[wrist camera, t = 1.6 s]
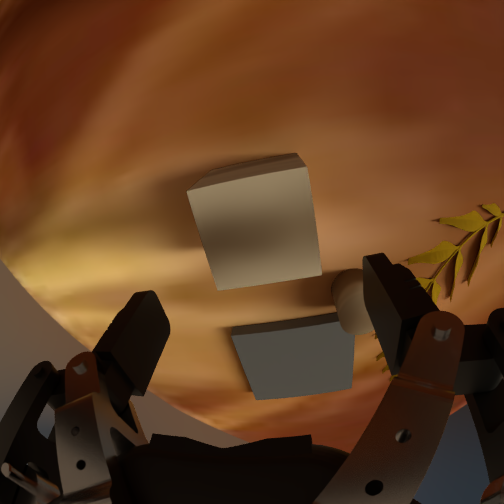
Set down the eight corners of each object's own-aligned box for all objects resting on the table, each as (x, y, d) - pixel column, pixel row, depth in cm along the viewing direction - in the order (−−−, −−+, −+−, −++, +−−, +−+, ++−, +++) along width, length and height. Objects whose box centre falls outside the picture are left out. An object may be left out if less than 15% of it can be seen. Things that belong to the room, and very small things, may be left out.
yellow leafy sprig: (421, 111, 15) (341, 384, 29) (432, 111, 14) (343, 395, 28) (579, 200, 14) (509, 359, 28) (586, 204, 13) (512, 366, 26)
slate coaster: (232, 327, 25) (230, 335, 24) (352, 309, 23) (355, 318, 22) (256, 392, 30) (256, 400, 28) (349, 380, 28) (351, 388, 27)
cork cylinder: (329, 272, 22) (339, 302, 18) (371, 264, 21) (387, 293, 17) (332, 306, 23) (340, 338, 20) (370, 299, 23) (383, 329, 19)
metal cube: (211, 170, 19) (186, 191, 13) (296, 152, 18) (307, 166, 12) (231, 245, 21) (217, 290, 16) (309, 232, 20) (322, 275, 15)
